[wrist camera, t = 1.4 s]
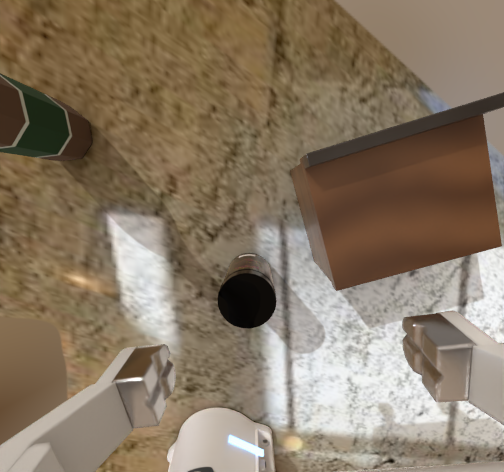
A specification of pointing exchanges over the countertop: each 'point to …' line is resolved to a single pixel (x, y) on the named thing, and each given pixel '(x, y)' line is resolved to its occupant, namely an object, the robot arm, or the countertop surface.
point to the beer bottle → (40, 124)
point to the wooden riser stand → (401, 196)
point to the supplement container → (247, 292)
